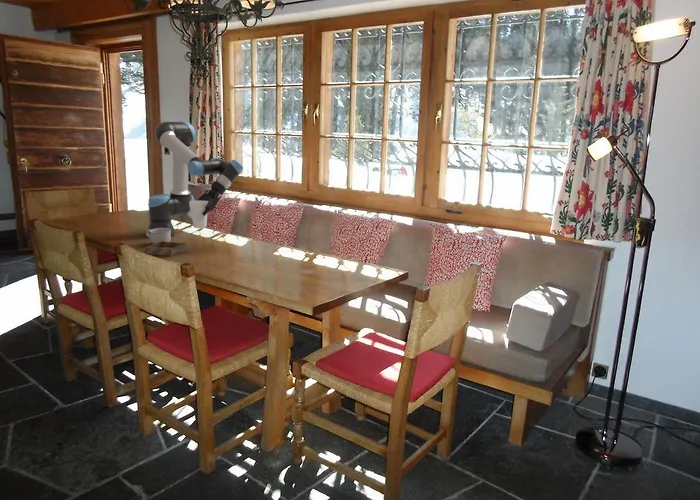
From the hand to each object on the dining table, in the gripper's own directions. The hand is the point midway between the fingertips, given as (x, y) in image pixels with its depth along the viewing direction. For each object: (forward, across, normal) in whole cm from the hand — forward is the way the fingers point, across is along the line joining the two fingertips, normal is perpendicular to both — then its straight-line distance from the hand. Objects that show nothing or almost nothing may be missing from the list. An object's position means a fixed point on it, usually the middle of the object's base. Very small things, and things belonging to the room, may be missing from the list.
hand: (193, 218), depth 274 cm
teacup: (+19, +26, -6) cm, 32 cm away
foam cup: (+1, 0, -6) cm, 6 cm away
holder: (+21, +5, -3) cm, 22 cm away
